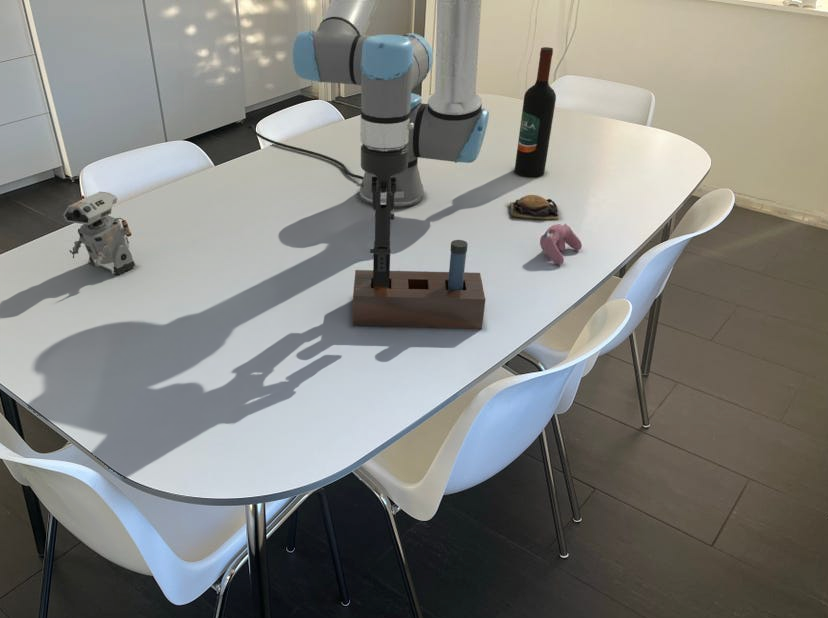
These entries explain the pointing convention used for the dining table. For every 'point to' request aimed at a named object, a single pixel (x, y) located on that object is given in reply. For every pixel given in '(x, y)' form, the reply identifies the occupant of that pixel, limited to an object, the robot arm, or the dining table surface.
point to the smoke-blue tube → (457, 264)
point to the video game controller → (558, 242)
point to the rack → (418, 301)
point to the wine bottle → (536, 122)
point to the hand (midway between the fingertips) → (381, 270)
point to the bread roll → (534, 208)
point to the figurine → (101, 231)
